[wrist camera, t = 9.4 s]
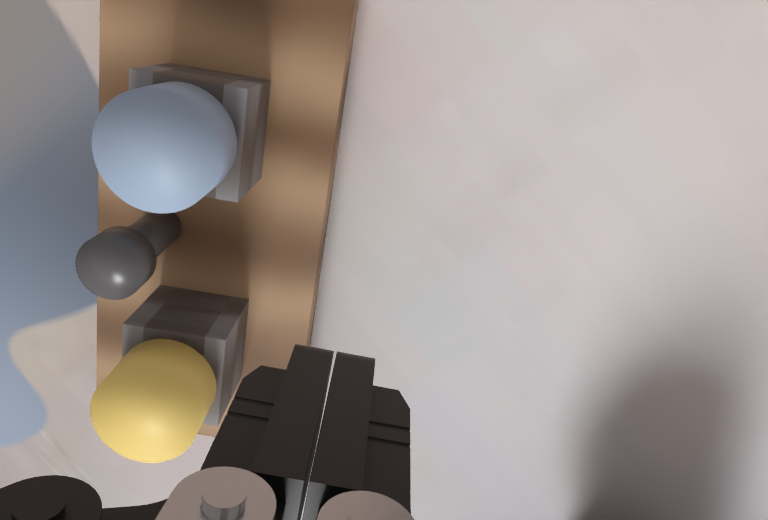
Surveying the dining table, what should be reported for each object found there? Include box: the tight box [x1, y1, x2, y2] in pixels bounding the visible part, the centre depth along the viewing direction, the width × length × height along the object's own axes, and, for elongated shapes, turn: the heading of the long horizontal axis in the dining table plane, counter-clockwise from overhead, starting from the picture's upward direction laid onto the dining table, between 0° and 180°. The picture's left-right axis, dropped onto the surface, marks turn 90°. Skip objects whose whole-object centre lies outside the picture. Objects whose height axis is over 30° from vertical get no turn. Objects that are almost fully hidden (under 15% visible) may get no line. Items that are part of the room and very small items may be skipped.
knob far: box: [90, 339, 216, 463], centre depth 32 cm, size 5×5×8 cm
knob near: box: [92, 81, 237, 214], centre depth 28 cm, size 5×5×8 cm
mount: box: [97, 0, 358, 437], centre depth 33 cm, size 26×12×8 cm, turn 171°
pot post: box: [76, 212, 182, 300], centre depth 31 cm, size 3×3×7 cm
